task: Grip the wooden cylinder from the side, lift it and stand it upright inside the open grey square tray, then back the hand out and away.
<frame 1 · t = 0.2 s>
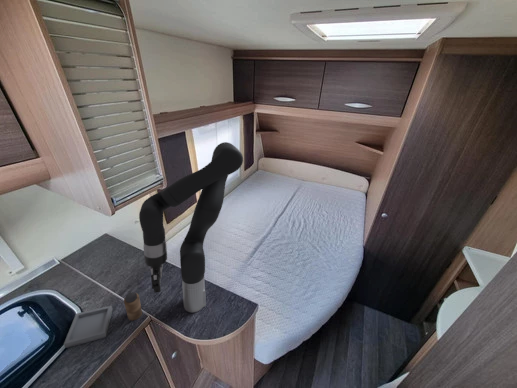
hand: (158, 283, 82), 17 cm above the worktop, tool pointing down, fingers open, 8 cm apart
grey square tray: (91, 327, 81), on the worktop
wooden cylinder: (135, 314, 87), on the worktop
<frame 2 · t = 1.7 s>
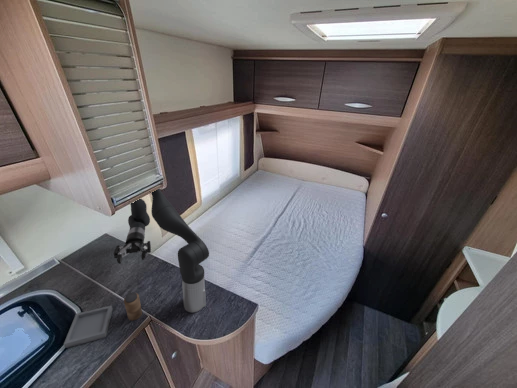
hand: (131, 260, 88), 20 cm above the worktop, tool horizontal, fingers open, 8 cm apart
nothing on the worktop moved.
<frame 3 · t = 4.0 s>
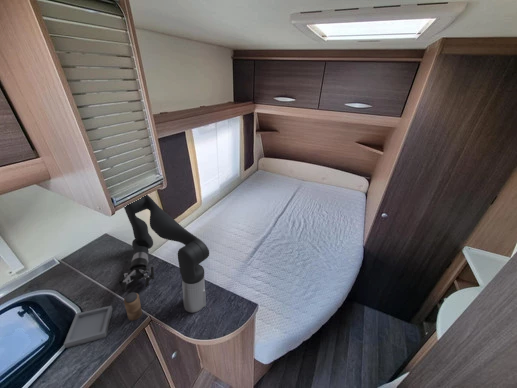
hand: (135, 288, 91), 6 cm above the worktop, tool horizontal, fingers open, 8 cm apart
nothing on the worktop moved.
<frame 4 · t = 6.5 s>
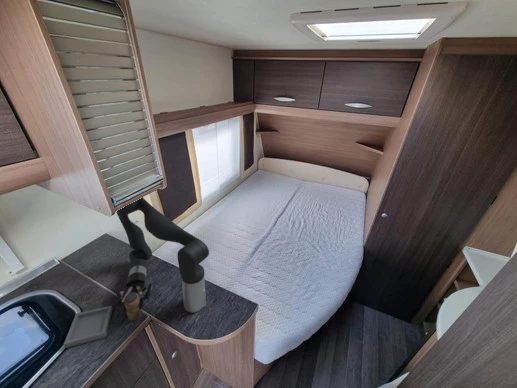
hand: (132, 309, 82), 7 cm above the worktop, tool horizontal, fingers closed on wooden cylinder, 5 cm apart
wooden cylinder: (135, 314, 87), on the worktop, touching gripper
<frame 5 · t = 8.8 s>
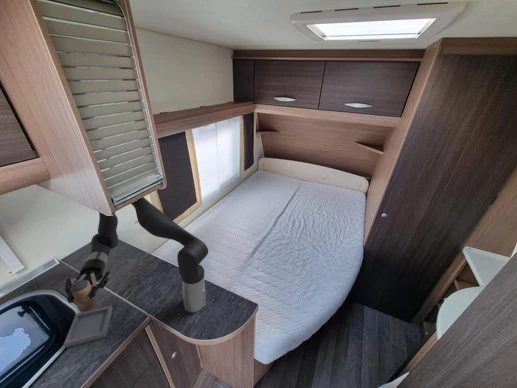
hand: (80, 299, 72), 18 cm above the worktop, tool horizontal, fingers closed on wooden cylinder, 5 cm apart
wooden cylinder: (87, 305, 77), point 11 cm above the worktop, touching gripper
when the fingers open (9 cm above the worktop, at t = 11.2 s): wooden cylinder drops 1 cm, resting on grey square tray.
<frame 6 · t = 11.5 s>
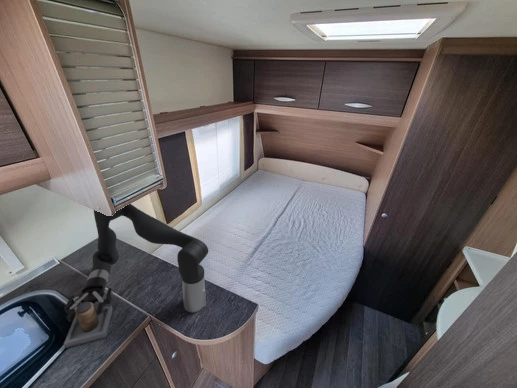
hand: (84, 316, 76), 9 cm above the worktop, tool horizontal, fingers open, 8 cm apart
wooden cylinder: (90, 325, 81), point 1 cm above the worktop, touching grey square tray
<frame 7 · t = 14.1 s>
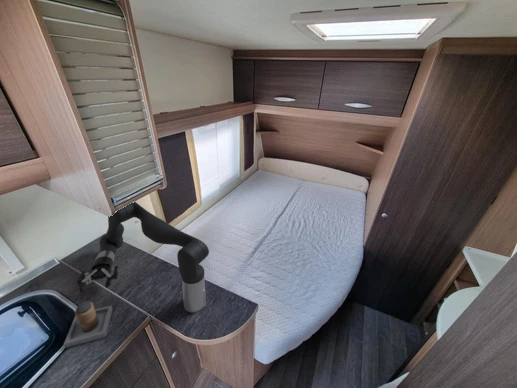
hand: (94, 288, 86), 9 cm above the worktop, tool horizontal, fingers open, 8 cm apart
nothing on the worktop moved.
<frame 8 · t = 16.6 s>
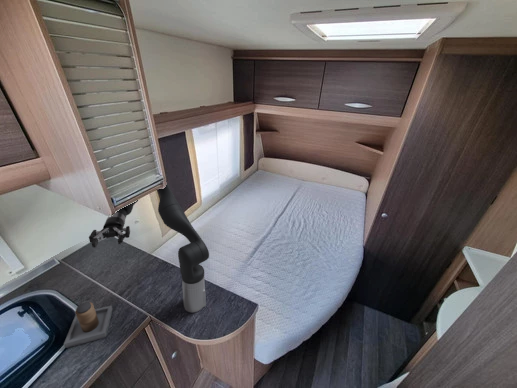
hand: (106, 244, 84), 28 cm above the worktop, tool horizontal, fingers open, 8 cm apart
nothing on the worktop moved.
at the end: wooden cylinder 0.1 cm off-centre on the grey square tray, point 0.8 cm above the grey square tray's base; wooden cylinder tilted 0°; the gripper is holding nothing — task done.
